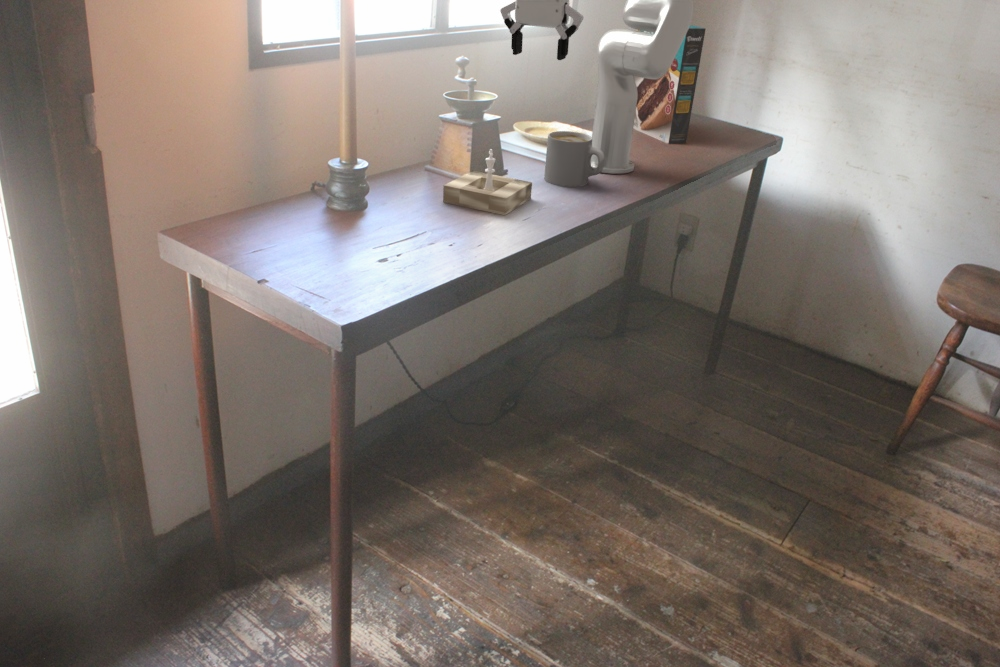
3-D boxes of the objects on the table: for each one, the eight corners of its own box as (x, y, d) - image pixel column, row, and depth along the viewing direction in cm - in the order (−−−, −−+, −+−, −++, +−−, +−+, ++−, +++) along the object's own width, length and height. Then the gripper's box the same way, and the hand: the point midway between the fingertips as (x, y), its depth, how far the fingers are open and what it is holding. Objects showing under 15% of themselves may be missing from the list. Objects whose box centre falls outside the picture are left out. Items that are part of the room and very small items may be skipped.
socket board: (471, 186, 172) (472, 170, 170) (530, 198, 167) (532, 182, 165) (443, 201, 161) (443, 185, 160) (505, 215, 156) (506, 198, 155)
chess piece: (480, 201, 161) (482, 152, 157) (473, 193, 165) (476, 146, 161) (503, 200, 163) (506, 152, 158) (496, 193, 167) (499, 146, 162)
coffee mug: (535, 179, 180) (539, 135, 175) (559, 171, 187) (563, 128, 182) (585, 193, 173) (591, 147, 168) (608, 184, 180) (614, 140, 175)
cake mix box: (625, 125, 235) (639, 17, 221) (642, 124, 237) (657, 17, 223) (668, 143, 218) (686, 28, 204) (686, 142, 220) (705, 28, 206)
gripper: (593, -35, 151) (585, 58, 159) (511, -41, 157) (508, 49, 166) (579, -33, 145) (572, 64, 153) (494, -39, 151) (492, 54, 160)
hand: (539, 56), depth 159 cm, fingers open, 9 cm apart
